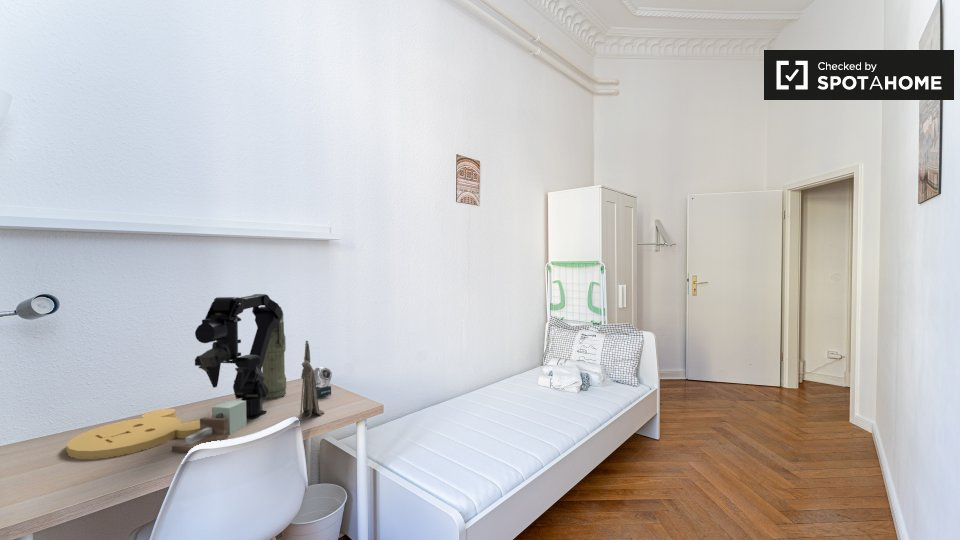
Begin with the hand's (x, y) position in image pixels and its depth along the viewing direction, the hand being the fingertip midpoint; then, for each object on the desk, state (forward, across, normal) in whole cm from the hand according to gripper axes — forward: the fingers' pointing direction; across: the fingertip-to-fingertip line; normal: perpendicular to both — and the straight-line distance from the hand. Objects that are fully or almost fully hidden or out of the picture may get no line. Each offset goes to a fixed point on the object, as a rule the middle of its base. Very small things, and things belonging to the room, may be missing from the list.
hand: (227, 388), depth 132 cm
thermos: (+13, -9, +34) cm, 37 cm away
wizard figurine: (+13, +17, +17) cm, 27 cm away
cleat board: (+13, 0, -11) cm, 17 cm away
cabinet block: (+13, 0, 0) cm, 13 cm away
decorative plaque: (+14, -23, -10) cm, 28 cm away
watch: (+13, +9, +37) cm, 41 cm away
